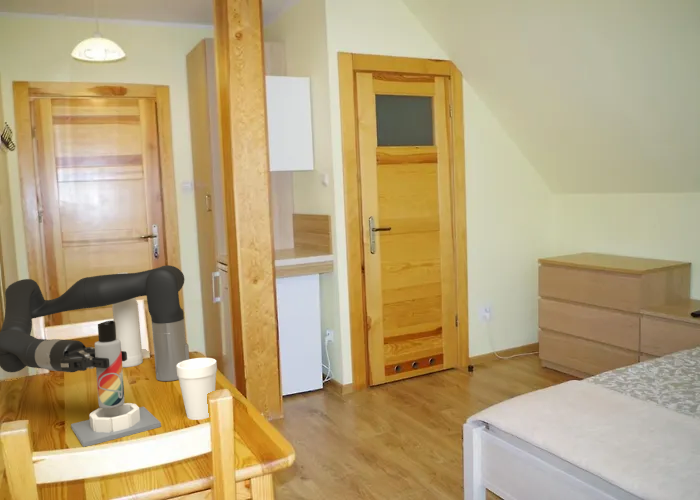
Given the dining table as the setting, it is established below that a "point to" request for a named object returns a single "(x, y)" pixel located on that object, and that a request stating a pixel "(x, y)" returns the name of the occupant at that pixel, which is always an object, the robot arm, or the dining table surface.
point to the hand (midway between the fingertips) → (116, 359)
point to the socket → (114, 424)
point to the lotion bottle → (112, 376)
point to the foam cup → (197, 385)
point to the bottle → (128, 330)
